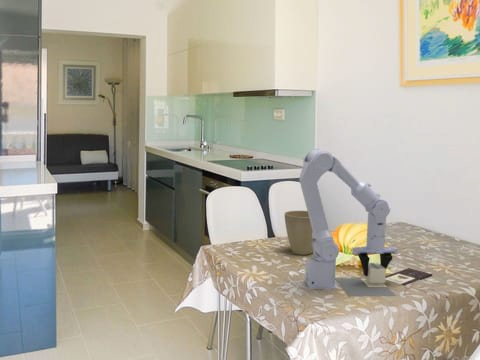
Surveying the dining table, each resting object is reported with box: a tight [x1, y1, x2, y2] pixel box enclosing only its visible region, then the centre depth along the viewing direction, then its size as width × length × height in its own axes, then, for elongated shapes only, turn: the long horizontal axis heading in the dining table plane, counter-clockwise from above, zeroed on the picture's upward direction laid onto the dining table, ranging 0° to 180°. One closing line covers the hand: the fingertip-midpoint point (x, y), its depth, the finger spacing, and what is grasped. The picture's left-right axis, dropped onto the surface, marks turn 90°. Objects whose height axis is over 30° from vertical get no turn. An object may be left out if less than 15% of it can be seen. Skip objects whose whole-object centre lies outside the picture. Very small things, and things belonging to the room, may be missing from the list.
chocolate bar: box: [385, 267, 433, 286], centre depth 169 cm, size 9×1×18 cm
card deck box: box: [362, 262, 387, 284], centre depth 161 cm, size 7×5×5 cm
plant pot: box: [283, 210, 313, 256], centre depth 197 cm, size 15×15×16 cm
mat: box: [335, 277, 397, 298], centre depth 158 cm, size 15×17×1 cm
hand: (373, 275), depth 161 cm, fingers closed on card deck box, 5 cm apart
